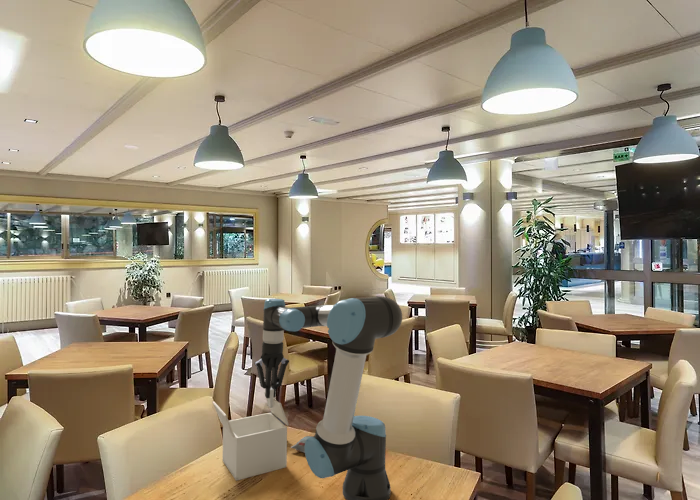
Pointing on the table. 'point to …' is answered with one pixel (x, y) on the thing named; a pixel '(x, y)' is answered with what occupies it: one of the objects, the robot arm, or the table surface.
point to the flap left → (223, 419)
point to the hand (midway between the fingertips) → (270, 406)
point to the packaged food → (301, 444)
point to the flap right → (278, 411)
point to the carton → (255, 446)
